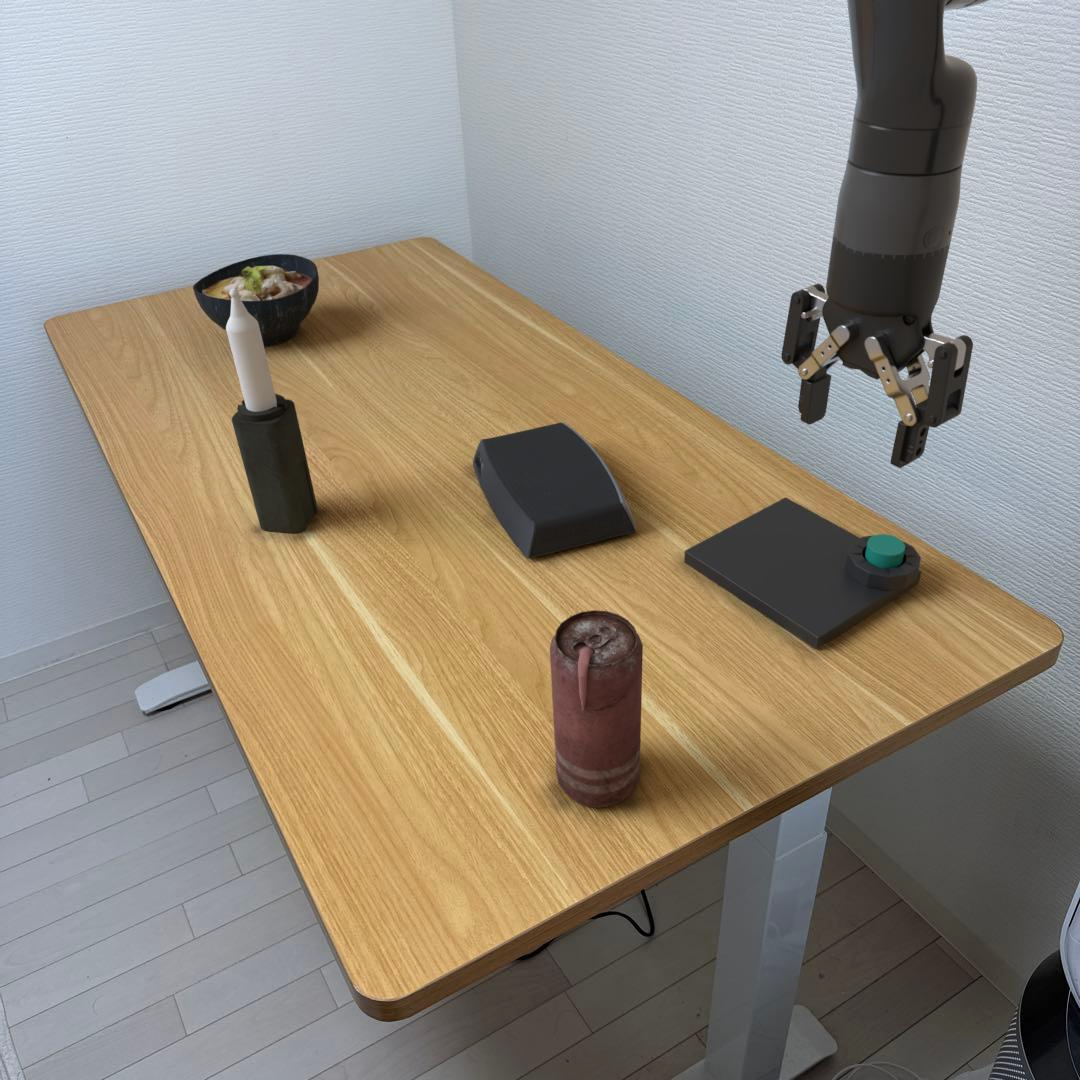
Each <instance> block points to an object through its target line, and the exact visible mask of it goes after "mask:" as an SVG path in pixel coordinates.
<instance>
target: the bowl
mask: <svg viewBox="0 0 1080 1080" xmlns="http://www.w3.org/2000/svg"><path fill="white" fill-rule="evenodd" d="M319 286H320V276H319V271H318V266H317V265H316V264H315V262H314V261H313V260H311V259H309V258H307V257H303V256H301V255H296V254H289V253H287V254H286V253H273V254H265V255H259V256H254V257H250V258H247V259H243V260H240V261H237V262H234V263H231V264H229V265H226V266H224V267H221V268H218V269H216V270H215V271H213V272H211V273H209V274H207V275H205V276H204V277H202V278H201V279H199V280H198V281H196V282H195V283H194V284H193V285H192V290H193V294H194V296H195V299H196V301H197V304H198V305H199V307H200V308H201V310H202V311H203V312H204V314H205V315H206V316H207V318H209V319H210V320H211V321H212V322H213V323H214V324H216V325H217V326H219V327H220V328H221V329H222V330H224V331H226V325H227V322H228V320H229V318H230V314H231V299H232V297H231V296H230V294H229V292H230V290H231V289H236V290H238V291H239V298H240V299H241V301H242V303H243V304H244V306H245V308H246V310H247V311H248V313H249V314H251V315H252V316H253V317H254V318H255V319H256V320H257V322H258V324H259V328H260V332H261V336H262V340H263V345H264V348H266V347H272V346H277V345H281V344H284V343H286V342H288V341H291V340H292V339H294V338H295V337H296V336H297V335H298V333H299V330H300V326H301V324H302V323H303V321H305V319H306V318H307V317H308V315H309V314H310V312H311V310H312V309H313V306H314V305H315V302H316V300H317V298H318V294H319V288H320V287H319Z"/></svg>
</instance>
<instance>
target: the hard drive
mask: <svg viewBox="0 0 1080 1080" xmlns="http://www.w3.org/2000/svg"><path fill="white" fill-rule="evenodd" d="M472 466H473V471H474V473H475V477H476V480H477V482H478V484H479V486H480V489H481V491H482V493H483V495H484V498H485V499H486V501H487V503H488V505H489V507H490V509H491V510H492V512H493V514H494V516H495V517H496V519H497V521H498V522H499V523H500V526H501V527H502V528H503V530H504V531H505V534H507V535H508V537H509V539H510V540H511V541H512V542H513V544H514V545H515V547H516V548H518V550H519V551H520V553H522V555H523V556H524V557H525V558H526V559H534V558H537V557H540V556H541V557H542V556H545V555H549V554H554V553H558V552H561V551H565V550H569V549H573V548H577V547H581V546H585V545H589V544H593V543H599V542H601V541H605V540H609V539H613V538H617V537H622V536H626V535H629V534H634V533H637V532H638V531H639V528H638V526H637V523H636V520H635V518H634V516H633V514H632V511H631V508H630V506H629V504H628V502H627V500H626V498H625V496H624V493H623V492H622V490H621V488H620V485H619V484H618V482H617V480H616V478H615V476H614V475H613V473H612V471H611V470H610V468H609V467H608V465H607V464H606V462H605V461H604V459H603V457H602V456H601V455H600V454H599V453H598V451H596V449H595V448H594V447H593V445H591V444H590V443H589V442H588V441H587V440H586V439H585V438H584V437H583V436H582V435H581V434H580V433H579V432H578V431H577V430H576V429H574V428H572V426H570V425H569V424H567V423H566V422H564V421H561V422H557V423H552V424H548V425H543V426H539V427H534V428H530V429H525V430H522V431H516V432H512V433H507V434H503V435H498V436H494V437H488V438H482V439H480V441H479V443H478V445H477V447H476V450H475V453H474V456H473V459H472Z"/></svg>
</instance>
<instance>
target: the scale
mask: <svg viewBox="0 0 1080 1080" xmlns="http://www.w3.org/2000/svg"><path fill="white" fill-rule="evenodd" d="M874 535H875V534H874ZM874 535H865V536H864V535H863V536H861V537H860V536H858V535H856V534H854V533H852V532H850V531H849V530H847V529H845V528H843V527H841V526H839V525H837V524H836V523H834V522H831V521H830V520H828V519H826V518H824V517H823V516H822V515H819V514H817V513H816V512H814V511H812V510H810V509H808V508H806V507H805V506H803V505H801V504H799V503H797V502H795V501H794V500H792V499H790V498H788V497H784V498H782V499H780V500H778V501H776V502H774V503H772V504H770V505H768V506H766V507H764V508H762V509H761V510H759V511H757V512H755V513H753V514H751V515H749V516H748V517H746V518H744V519H742V520H740V521H738V522H736V523H733V525H731V526H728V527H727V528H725V529H723V530H721V531H719V532H717V533H716V534H714V535H712V536H710V537H708V538H706V539H704V540H702V541H701V542H698V543H697V544H695V545H693V546H691V547H690V548H687V549H685V550H684V556H683V557H684V558H683V559H684V560H683V562H684V564H686V565H688V566H689V567H691V568H692V569H694V570H695V571H696V572H698V573H700V574H701V575H702V576H704V577H706V578H707V579H708V580H710V581H712V582H713V583H715V584H716V585H718V586H719V587H721V589H724V590H725V591H727V592H728V593H730V594H731V595H733V597H736V598H737V599H739V600H740V601H742V602H743V603H745V604H747V605H748V606H749V607H751V608H753V609H754V610H755V611H757V612H758V613H760V614H761V615H763V616H764V617H766V618H768V619H769V620H771V621H772V622H774V623H775V624H776V625H778V626H780V627H781V628H782V629H784V630H786V631H787V632H789V633H790V634H792V635H793V636H795V637H796V638H798V639H799V640H801V641H802V642H803V643H805V644H807V645H809V646H810V647H811V648H813V649H814V650H816V651H818V650H819V649H821V648H822V647H824V646H825V645H827V644H828V643H830V642H831V641H833V640H834V639H836V638H837V637H840V635H842V634H843V633H845V632H847V631H848V630H850V629H852V627H854V626H856V625H857V624H859V623H861V622H862V621H864V620H865V619H866V618H868V617H870V616H871V615H872V614H874V613H876V612H877V611H879V610H880V609H882V608H884V607H885V606H886V605H888V604H889V603H891V602H892V601H894V600H896V599H897V598H899V597H900V596H902V595H903V594H905V593H906V592H908V591H909V590H911V589H912V588H915V586H918V584H920V580H921V576H922V573H923V571H922V570H920V565H921V561H922V557H921V556H920V554H919V553H918V551H917V550H916V549H915V547H914V546H913V545H911V544H909V543H908V542H905V541H903V540H902V539H900V540H901V541H903V543H904V544H905V552H904V556H903V561H902V564H901V565H900V566H898V567H896V568H888V569H887V568H882V567H877V566H874V565H873V564H871V563H869V562H868V561H867V560H866V558H865V553H866V548H867V542H868V540H869V538H871V537H872V536H874Z"/></svg>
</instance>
